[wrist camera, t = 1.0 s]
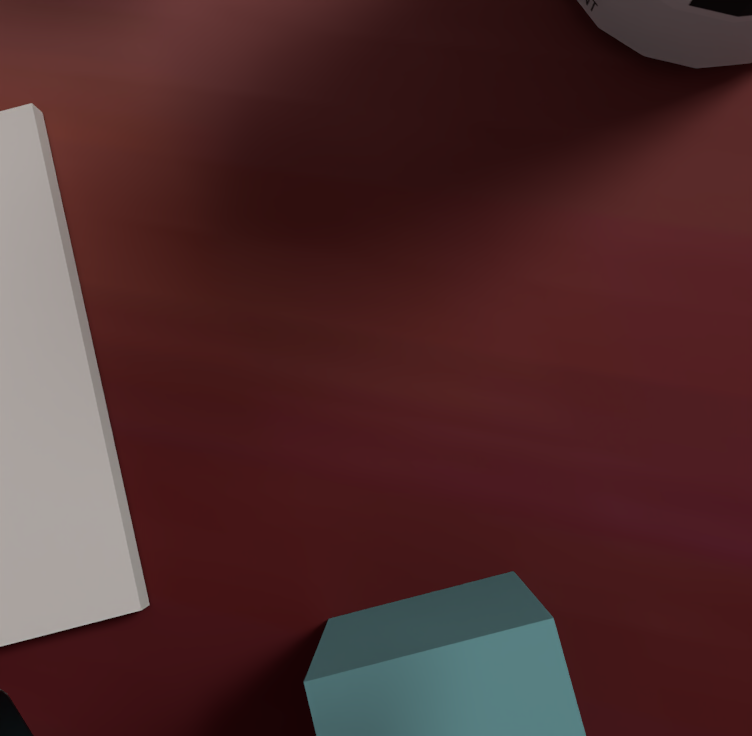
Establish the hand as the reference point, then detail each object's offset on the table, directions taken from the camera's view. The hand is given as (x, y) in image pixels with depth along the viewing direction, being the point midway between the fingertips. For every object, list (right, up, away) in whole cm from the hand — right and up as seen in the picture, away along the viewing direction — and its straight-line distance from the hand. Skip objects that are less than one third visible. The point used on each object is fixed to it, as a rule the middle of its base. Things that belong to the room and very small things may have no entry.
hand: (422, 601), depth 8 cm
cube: (+1, -6, +11) cm, 12 cm away
